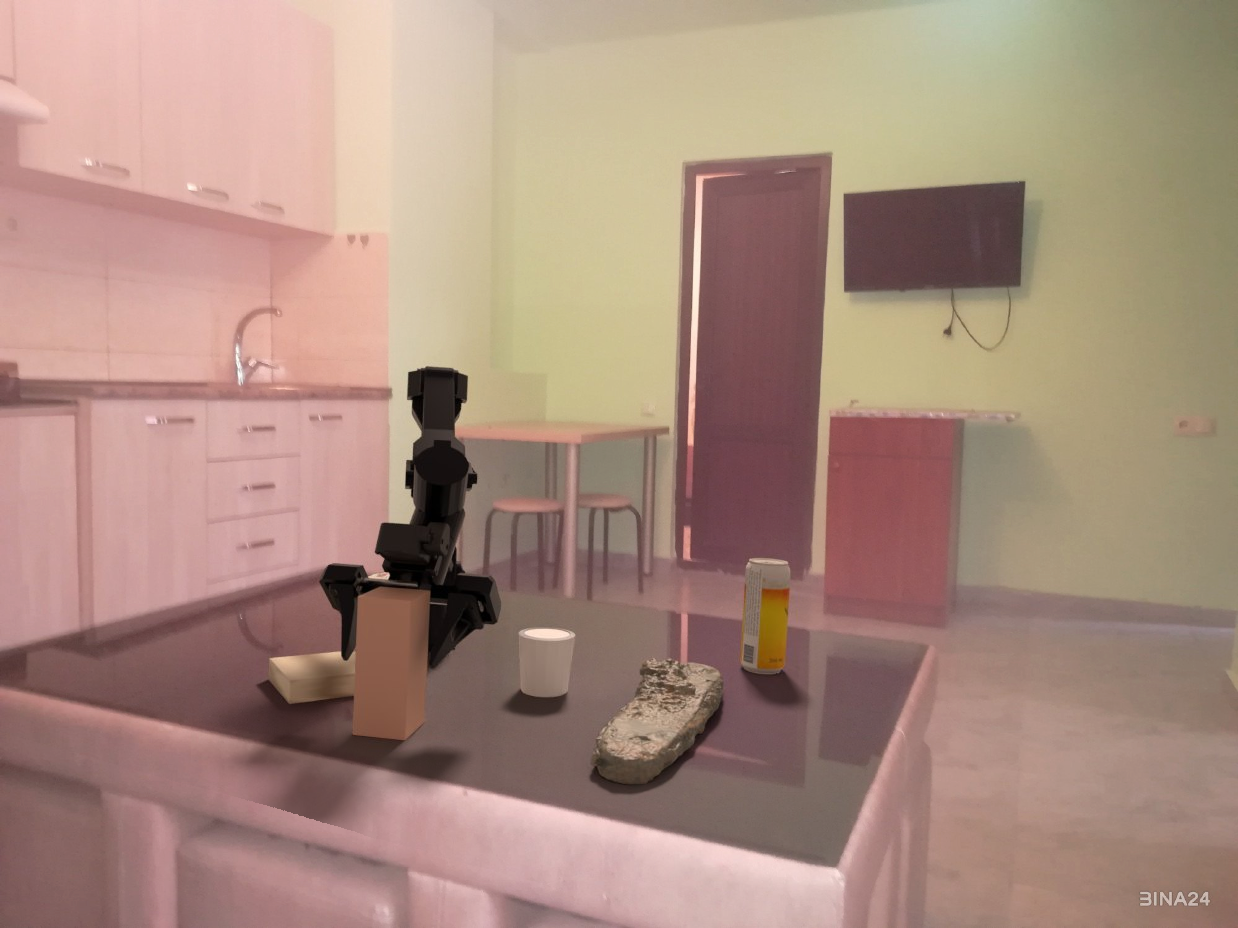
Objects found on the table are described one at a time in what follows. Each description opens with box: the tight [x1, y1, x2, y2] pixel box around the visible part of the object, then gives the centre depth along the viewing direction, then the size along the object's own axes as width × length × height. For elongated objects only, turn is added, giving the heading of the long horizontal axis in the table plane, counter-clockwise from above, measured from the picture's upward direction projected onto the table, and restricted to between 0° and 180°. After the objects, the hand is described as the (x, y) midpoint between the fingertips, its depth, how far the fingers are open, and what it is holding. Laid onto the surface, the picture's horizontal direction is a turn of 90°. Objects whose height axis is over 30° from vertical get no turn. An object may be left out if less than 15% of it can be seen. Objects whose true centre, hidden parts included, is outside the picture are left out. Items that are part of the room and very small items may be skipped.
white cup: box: [518, 626, 576, 698], centre depth 107 cm, size 7×7×7 cm
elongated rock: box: [590, 657, 725, 786], centre depth 97 cm, size 35×5×10 cm
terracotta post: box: [352, 587, 430, 741], centre depth 91 cm, size 6×6×14 cm
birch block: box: [268, 650, 356, 705], centre depth 104 cm, size 10×10×3 cm
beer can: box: [739, 557, 792, 675], centre depth 121 cm, size 6×6×15 cm
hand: (387, 662), depth 89 cm, fingers open, 9 cm apart
